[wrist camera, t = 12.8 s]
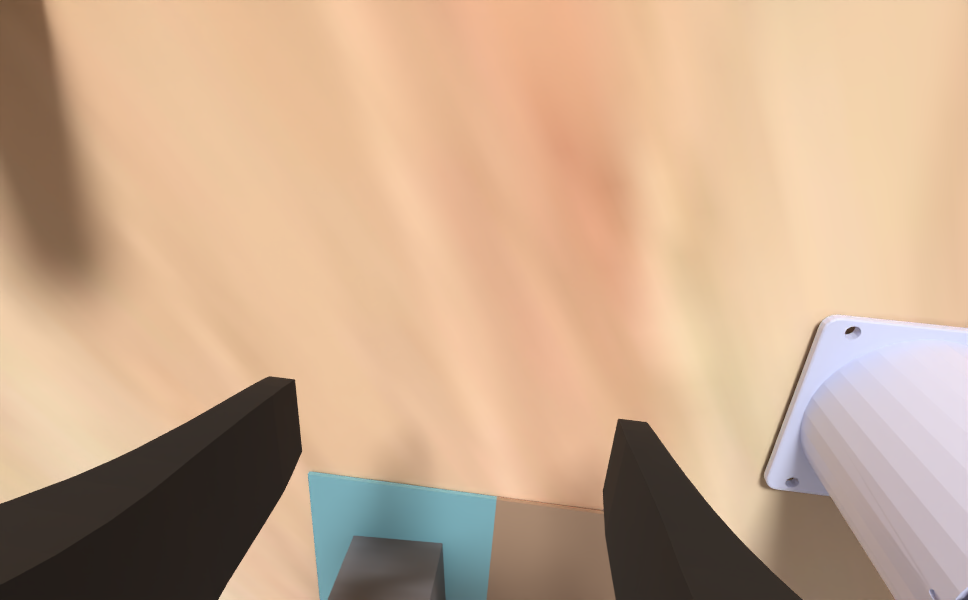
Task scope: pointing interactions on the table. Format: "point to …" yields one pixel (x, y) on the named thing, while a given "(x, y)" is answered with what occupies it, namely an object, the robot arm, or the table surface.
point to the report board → (467, 538)
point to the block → (390, 570)
